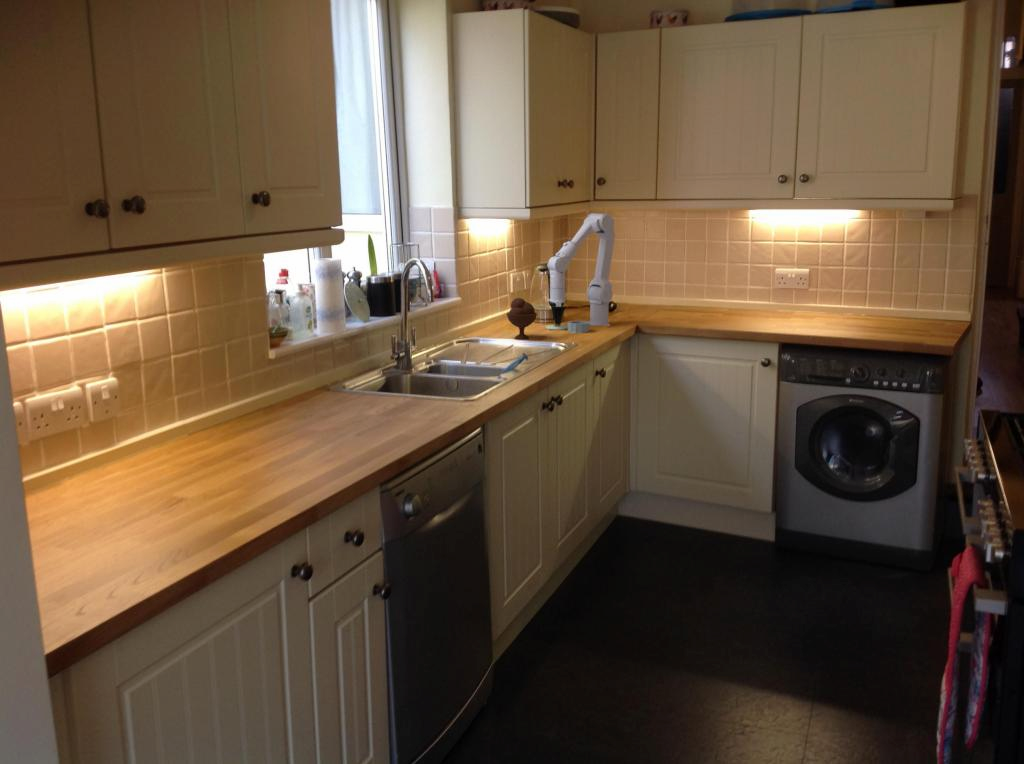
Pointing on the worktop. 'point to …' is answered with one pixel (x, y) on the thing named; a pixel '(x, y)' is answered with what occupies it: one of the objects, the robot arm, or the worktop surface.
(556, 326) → the lid
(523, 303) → the ice cream bowl
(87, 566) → the worktop surface
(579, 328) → the bowl
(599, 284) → the robot arm
